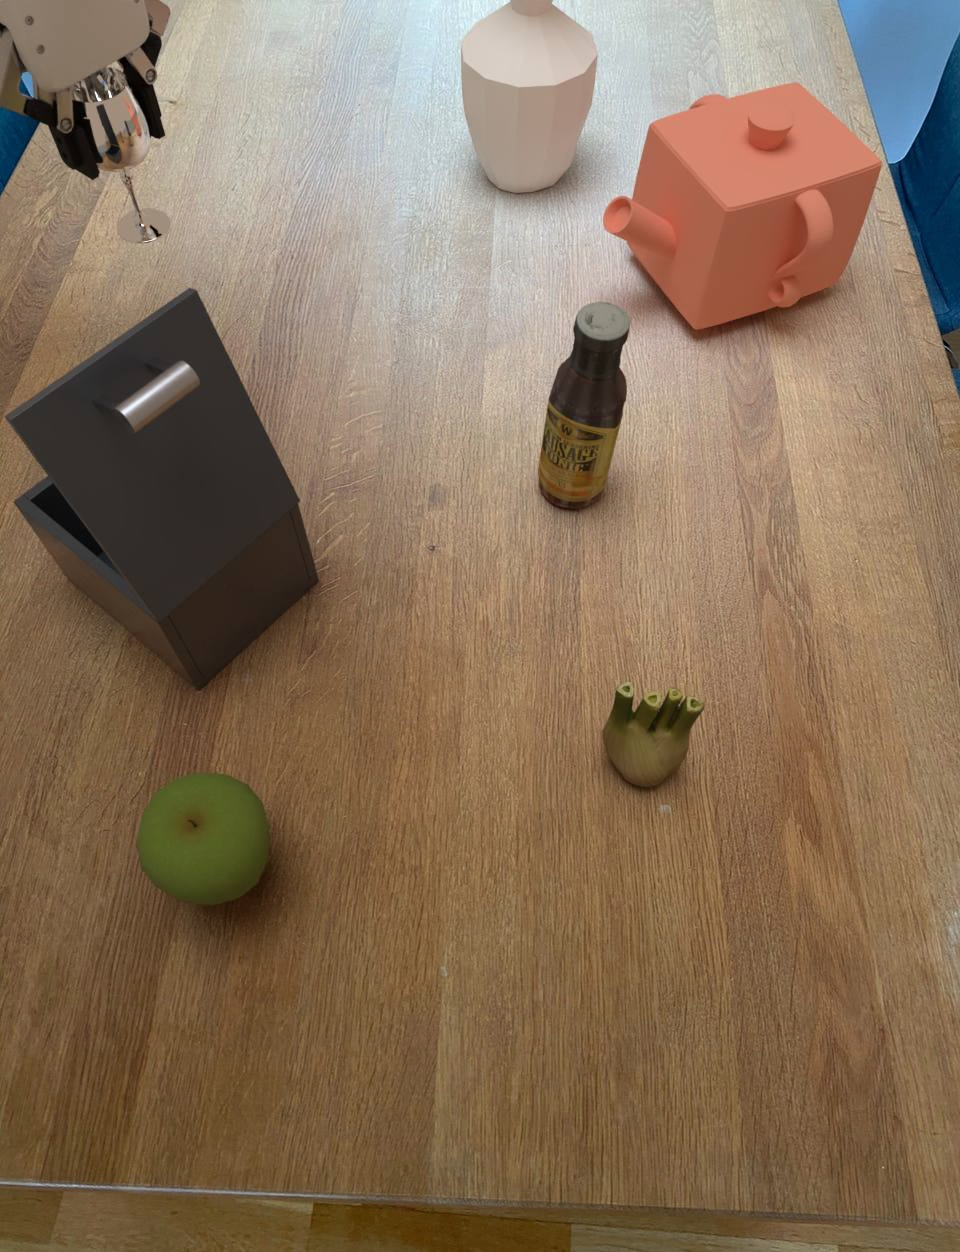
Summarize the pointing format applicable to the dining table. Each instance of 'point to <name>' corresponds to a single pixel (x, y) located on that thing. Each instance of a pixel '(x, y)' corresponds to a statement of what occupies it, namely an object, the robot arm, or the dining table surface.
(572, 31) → the vase
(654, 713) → the fennel bulb
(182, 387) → the lid
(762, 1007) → the dining table surface
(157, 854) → the apple
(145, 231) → the wineglass
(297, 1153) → the dining table surface
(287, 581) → the chest
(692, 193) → the teapot
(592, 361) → the sauce bottle
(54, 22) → the robot arm
